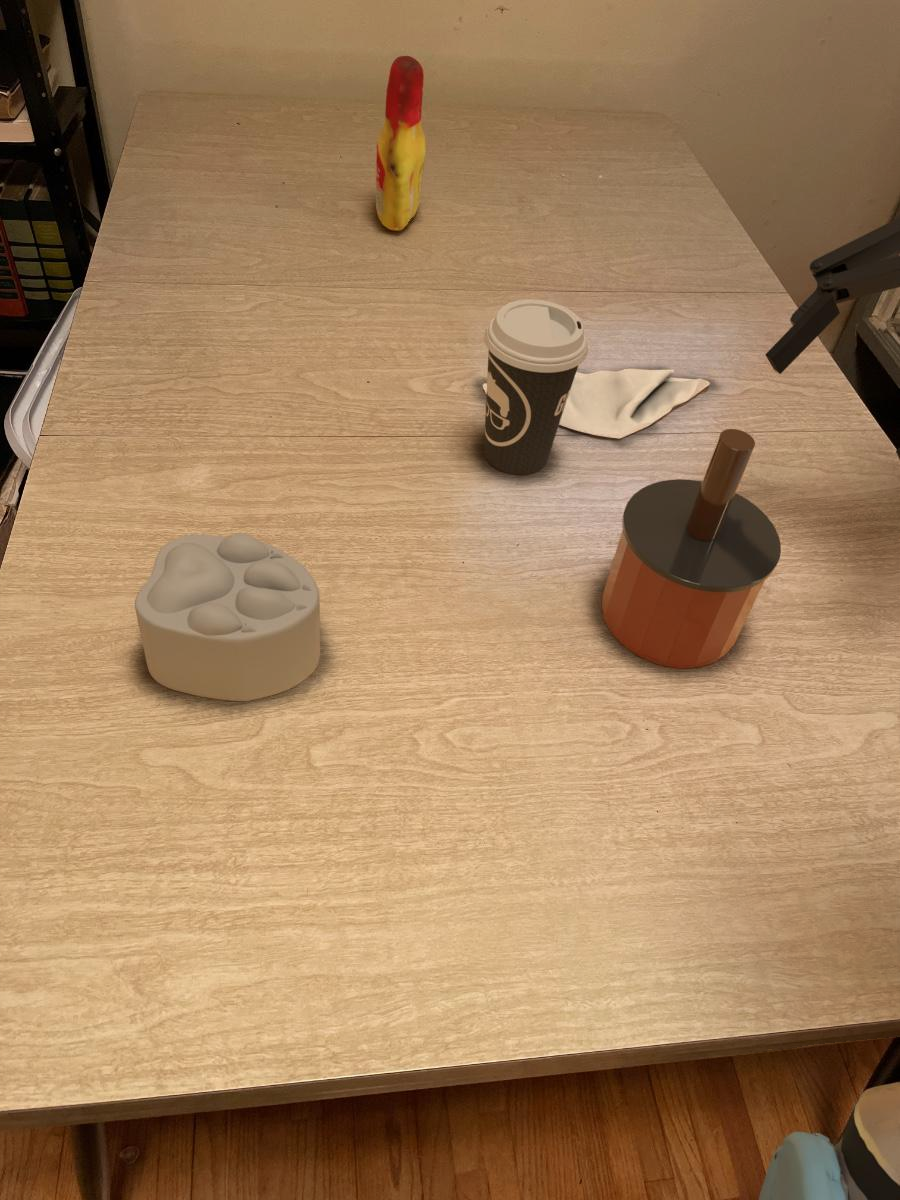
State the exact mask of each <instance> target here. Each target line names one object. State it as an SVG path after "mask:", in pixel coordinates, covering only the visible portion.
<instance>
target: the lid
mask: <svg viewBox="0 0 900 1200" xmlns="http://www.w3.org/2000/svg"><path fill="white" fill-rule="evenodd" d="M755 447H756V441H755V439H754V438H753V436H751V435H750V433H748V432H746V431H743V430H742V429H738V428H727V429H724V430H722V431H721V432H720V433H719V435H718V438H717V441H716V444H715V447H714V449H713V452H712V454H711V457H710V460H709V463H708V464H707V468H706V471H705V473H704V475H703V479H702V480H695V479H685V478H683V479H681V478H678V479H677V478H675V479H666V480H660V481H656V482H653V483H650V484H648V485H646V486H644V487H642V488H640V489H639V490H637V492H635V493H634V494H633V495H631V497H629V500H628V502H627V503H626V505H625V508H624V510H623V514H622V520H621V527H622V528H621V529H622V530H623V532H624V536H625V539H626V541H627V543H628V545H629V547H630V548H631V550H632V551H633V552H634V554H635V555H636V556H637V557H638V558H639V559H640V560H641V561H642V562H643V563H644V564H645V565H646V566H647V567H649V568H650V569H651V570H653V571H654V572H656V573H657V574H659V575H660V576H662V577H664V578H666V579H668V580H670V581H672V582H674V583H677V584H679V585H682V586H685V587H688V588H691V589H696V590H700V591H707V592H718V593H727V592H737V591H742V590H746V589H749V588H752V587H754V586H756V585H758V584H760V583H762V582H763V581H764V580H765V581H766V580H767V579H768V578H769V577H770V576H771V575H772V574H773V573H774V571H775V570H776V568H777V566H778V563H779V562H780V559H781V553H782V543H781V540H780V536H779V533H778V531H777V529H776V527H775V525H774V523H773V522H772V521H771V519H770V518H769V517H768V516H767V515H766V514H765V512H764V511H763V510H761V508H759V507H758V506H757V505H756V504H755V503H753V502H752V501H751V500H749V499H747V498H746V497H744V496H742V494H740V493H737V490H738V488H739V485H740V483H741V480H742V478H743V476H744V474H745V470H746V468H747V466H748V463H749V461H750V459H751V457H752V453H753V451H754V448H755ZM765 581H764V582H765Z"/></svg>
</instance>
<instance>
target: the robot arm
mask: <svg viewBox="0 0 900 1200" xmlns="http://www.w3.org/2000/svg"><path fill="white" fill-rule="evenodd" d="M899 252H900V216H899V217H898V218H896V219H893V220H892V221H889V222H887V223H885V224H883V225H881V226H879V227H878V228H876V229H874V230H871V231H869V232H868V233H865V234H863V235H862V236H860V237H857V238H856V239H854V240H851V241H849V242H847V243H845V244H844V245H841V246H840V247H837V248H835V249H833V250H831V251H830V252H829V251H828V253H825V254H824V255H822V256H820V257H818V258H815V259H814V260H812V261H811V262H810V264H809V270H810V272H811V275H812V278H813V280H814V282H815V284H816V288H815V290H814V291H813V292H812V294H810V295H809V296H808V297H807V298H806V299H805V301H804V302H803V303H802V304H800V306H799V307H798V308H797V309H796V310H795V311H794V312H793V313H792V315H791V317H790V318H789V321H790V324H791V325H792V326H791V327H790V328H789V329H788V330H786V332H785V333H784V335H782V336H781V337H780V338H779V340H778V341H776V343H775V344H774V345H773V346H772V347H770V348H769V350H768V351H767V352H766V353H765V354H764V355H765V357H766V358H767V361H768V362H769V364H770V366H771V367H772V369H773V370H774V371H775V372H776V373H777V374H779V375H781V374H782V373H783V372H784V371H785V370H786V369H788V367H789V366H790V365H791V364H792V363H793V362H794V361H795V360H796V359H797V358H798V357H799V356H800V355H801V354H802V353H803V352H804V351H805V350H806V349H807V347H809V346H810V345H811V344H812V343H813V342H814V341H815V340H816V338H817V337H818V336H819V335H820V334H821V333H823V331H824V330H825V329H826V328H827V327H828V326H829V325H830V324H831V323H832V322H833V321H834V320H835V319H836V318H837V317H838V316H839V315H841V313H840V309H839V307H838V305H837V304H842V303H844V302H848V301H853V300H856V299H859V298H863V297H868V296H872V295H876V294H879V293H883V292H886V291H889V290H894V289H898V288H900V255H897V256H893V255H894V254H896V253H899ZM890 256H893V257H890ZM889 257H890V258H889ZM895 453H896V455H897V458H898V460H899V461H900V446H899V447H898V448H897V449H896V450H895ZM758 1200H900V1081H896V1082H892V1083H886V1084H882V1085H877V1086H872V1087H870V1088H867V1089H865V1090H864V1091H863V1092H861V1094H860V1096H859V1097H858V1099H857V1101H856V1103H855V1105H854V1107H853V1110H852V1113H851V1115H850V1117H849V1120H848V1122H847V1124H846V1127H845V1129H844V1131H843V1134H842V1136H841V1138H840V1140H839V1141H838V1142H837V1143H834V1144H833V1143H832V1142H831V1140H830V1138H829V1137H827V1136H826V1135H824V1134H821V1133H819V1132H813V1133H810V1132H806V1131H805V1132H804V1131H794V1132H791V1133H789V1134H788V1135H787V1136H786V1137H784V1138H783V1140H782V1143H781V1145H780V1146H778V1147H777V1149H776V1150H775V1152H774V1153H773V1156H772V1158H771V1160H770V1162H769V1165H768V1167H767V1170H766V1173H765V1176H764V1180H763V1183H762V1186H761V1189H760V1193H759V1197H758Z"/></svg>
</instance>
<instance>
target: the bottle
mask: <svg viewBox="0 0 900 1200" xmlns="http://www.w3.org/2000/svg"><path fill="white" fill-rule="evenodd" d="M389 69H390V70H389V76H388V80H387V86H386V96H385V112H384V115H385V116H384V117H385V119H384V120H385V121H384V125H383V127H382V129H381V131H380V134H379V137H378V139H377V143H376V161H375V163H376V165H375V166H376V167H375V171H376V173H375V209H376V214H377V218H378V219H379V221H380V223H381V225H383V226H384V227H385V228H386V229H388V230H391V231H396V232H398V231H399V232H400V231H402V230H404V228H405V227H406V226H408V224H409V223H410V222H409V221H411V220H412V219H413V218H414V217H415V215H416V214H417V210H418V208H417V207H419V205H420V198H421V190H422V182H423V175H424V167H425V160H426V152H427V151H426V150H427V147H426V146H427V145H426V144H427V143H426V136H425V133H424V131H423V129H422V112H423V111H422V106H423V95H424V92H423V91H424V89H423V88H424V79H425V75H424V73H425V72H424V69H423V67H422V65H421V63H420V62H419V61H418V60H417V59H416V58H414V57H412V56H410V55H401V56H398V57H396V58H395V59H394V61H393V62H392V63H391V66H390V68H389ZM412 217H413V218H412ZM411 218H412V219H411ZM410 219H411V220H410ZM381 221H382V222H381ZM408 222H409V223H408ZM406 223H407V224H406ZM402 227H403V228H402ZM395 228H398V229H395Z"/></svg>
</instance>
